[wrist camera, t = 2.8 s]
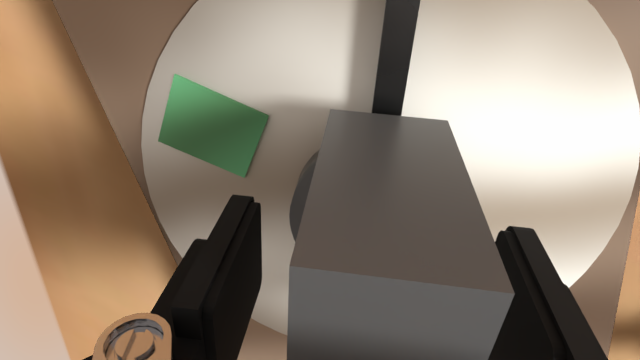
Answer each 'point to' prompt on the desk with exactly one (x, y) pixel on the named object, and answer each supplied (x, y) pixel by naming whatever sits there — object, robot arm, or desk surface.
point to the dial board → (357, 95)
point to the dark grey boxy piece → (391, 233)
